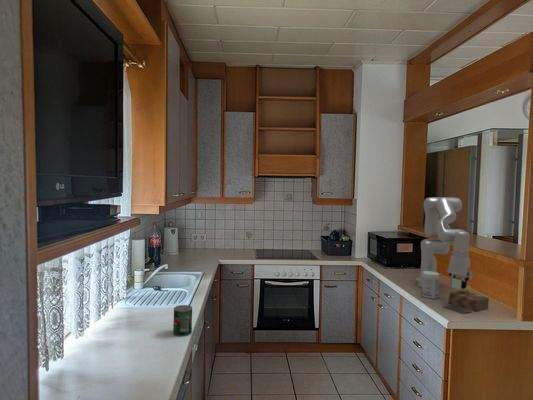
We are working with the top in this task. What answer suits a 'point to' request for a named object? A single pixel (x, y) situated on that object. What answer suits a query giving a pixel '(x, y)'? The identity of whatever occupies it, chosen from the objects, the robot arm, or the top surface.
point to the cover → (457, 282)
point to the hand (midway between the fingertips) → (458, 286)
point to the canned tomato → (182, 320)
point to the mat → (457, 309)
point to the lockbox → (469, 301)
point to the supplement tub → (430, 284)
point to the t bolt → (466, 290)
